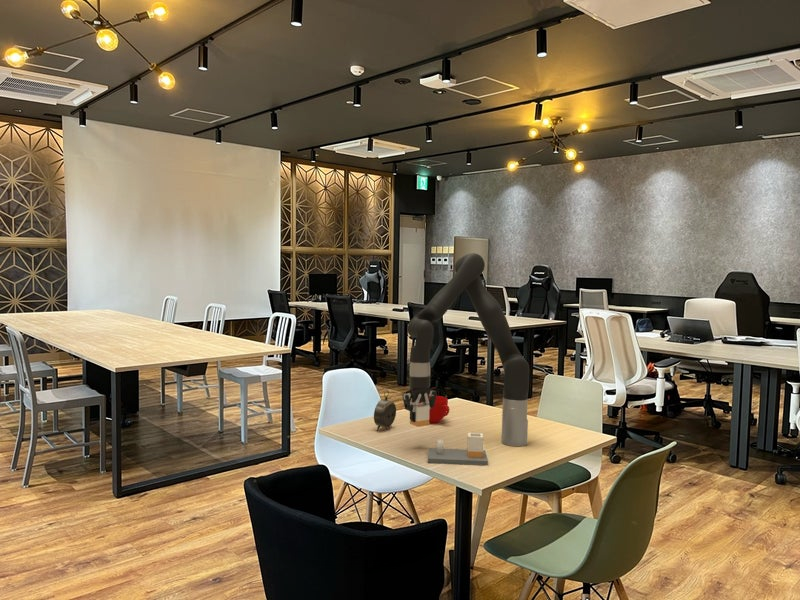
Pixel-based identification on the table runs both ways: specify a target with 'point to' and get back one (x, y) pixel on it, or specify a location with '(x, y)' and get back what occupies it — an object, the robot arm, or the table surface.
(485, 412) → the table surface
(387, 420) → the alarm clock
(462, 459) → the pin board
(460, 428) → the table surface
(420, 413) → the sleeve
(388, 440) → the table surface
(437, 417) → the ceramic cup
